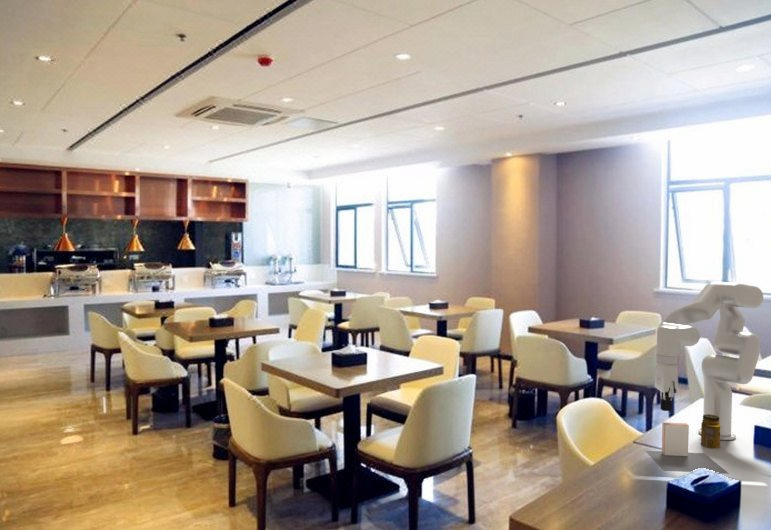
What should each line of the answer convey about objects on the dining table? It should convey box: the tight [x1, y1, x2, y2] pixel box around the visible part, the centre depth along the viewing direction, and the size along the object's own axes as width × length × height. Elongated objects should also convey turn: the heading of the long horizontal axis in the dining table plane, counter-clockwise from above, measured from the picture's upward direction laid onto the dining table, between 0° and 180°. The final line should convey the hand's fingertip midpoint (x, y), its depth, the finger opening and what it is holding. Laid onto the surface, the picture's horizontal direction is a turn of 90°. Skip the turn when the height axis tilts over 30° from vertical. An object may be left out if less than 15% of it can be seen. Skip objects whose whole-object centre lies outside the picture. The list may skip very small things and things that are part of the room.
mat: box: [645, 450, 730, 475], centre depth 190 cm, size 18×20×1 cm
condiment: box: [700, 414, 721, 449], centre depth 205 cm, size 7×8×12 cm
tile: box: [661, 422, 690, 456], centre depth 196 cm, size 2×8×11 cm, turn 84°
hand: (665, 410), depth 203 cm, fingers closed
